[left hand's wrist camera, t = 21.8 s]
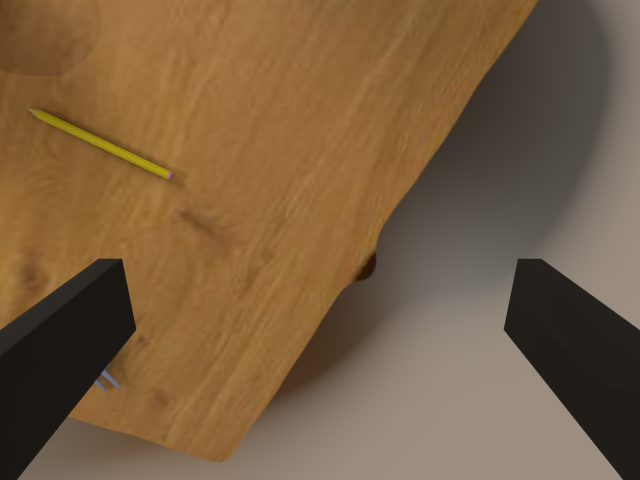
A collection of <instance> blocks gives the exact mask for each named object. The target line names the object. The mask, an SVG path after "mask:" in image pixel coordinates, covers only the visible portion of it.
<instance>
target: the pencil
mask: <svg viewBox="0 0 640 480" xmlns="http://www.w3.org/2000/svg"><path fill="white" fill-rule="evenodd" d="M27 109H28V110H29V111H30V112H31V113H33V114H34V115H35V116H36V117H37V118H38V119H40V120H43V121H45V122H47V123H49V124H51V125H53V126H55V127H57V128H59V129H62V130H64V131H66V132H68V133H70V134H72V135H74V136H76V137H78V138H81V139H83V140H85V141H87V142H89V143H91V144H93V145H95V146H98V147H100V148H102V149H104V150H106V151H108V152H110V153H112V154H114V155H117V156H119V157H121V158H123V159H125V160H127V161H129V162H131V163H133V164H136V165H138V166H140V167H142V168H144V169H146V170H148V171H150V172H153V173H155V174H157V175H159V176H161V177H163V178H165V179H167V180H171V178H172V176H173V173H172V172H170V171H168V170H166V169H164V168H162V167H160V166H158V165H156V164H154V163H151V162H149V161H147V160H145V159H143V158H141V157H139V156H137V155H135V154H133V153H130V152H128V151H126V150H124V149H122V148H120V147H118V146H116V145H114V144H112V143H109V142H107V141H105V140H103V139H101V138H99V137H97V136H95V135H93V134H91V133H88V132H86V131H84V130H82V129H80V128H78V127H76V126H74V125H72V124H70V123H67V122H65V121H63V120H61V119H59V118H57V117H55V116H53V115H51V114H49V113H46V112H44V111H42V110H37V109H31V108H27Z"/></svg>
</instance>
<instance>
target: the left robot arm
mask: <svg viewBox="0 0 640 480" xmlns="http://www.w3.org/2000/svg"><path fill="white" fill-rule="evenodd" d="M504 330H505V332H506V333H507V334H508V336H509V337H510V338H511V339H512V341H513V342H514V343H515V344H516V346H517V347H518V348H519V349H520V351H521V352H522V353H523V354H524V356H525V357H526V358H527V360H528V361H529V362H530V363H531V365H532V366H533V367H534V368H535V370H536V371H537V372H538V373H539V375H540V376H541V377H542V378H543V380H544V381H545V382H546V383H547V385H548V386H549V387H550V388H551V390H552V391H553V392H554V393H555V395H556V396H557V397H558V398H559V400H560V401H561V402H562V403H563V405H564V406H565V407H566V409H567V410H568V411H569V412H570V414H571V415H572V416H573V417H574V419H575V420H576V421H577V422H578V424H579V425H580V426H581V427H582V429H583V430H584V431H585V432H586V434H587V435H588V436H589V437H590V439H591V440H592V441H593V443H594V444H595V445H596V446H597V447H598V449H599V450H600V451H601V453H602V454H603V455H604V456H605V458H606V459H607V460H608V461H609V463H610V464H611V465H612V466H613V468H614V469H615V470H616V471H617V473H618V474H619V475H620V476H621V478H622V479H623V480H640V330H639V329H638V328H636V327H635V326H633V325H632V324H631V323H629V322H628V321H626V320H625V319H624V318H622V317H621V316H620V315H618V314H617V313H615V312H614V311H613V310H611V309H610V308H608V307H607V306H606V305H604V304H603V303H602V302H600V301H599V300H597V299H596V298H595V297H593V296H592V295H590V294H589V293H588V292H586V291H585V290H584V289H582V288H581V287H579V286H578V285H577V284H575V283H574V282H573V281H571V280H570V279H568V278H567V277H566V276H564V275H563V274H562V273H560V272H559V271H557V270H556V269H555V268H553V267H552V266H550V265H549V264H548V263H546V262H545V261H544V260H542V259H518V262H517V267H516V271H515V277H514V281H513V286H512V292H511V296H510V301H509V306H508V311H507V316H506V321H505V326H504ZM135 331H136V326H135V321H134V316H133V311H132V306H131V301H130V296H129V291H128V286H127V281H126V276H125V271H124V267H123V262H122V259H98V260H96V261H95V262H94V263H92V264H91V265H90V266H88V267H87V268H85V269H84V270H83V271H81V272H80V273H78V274H77V275H76V276H74V277H73V278H72V279H70V280H69V281H67V282H66V283H65V284H63V285H62V286H61V287H59V288H58V289H56V290H55V291H54V292H52V293H51V294H49V295H48V296H47V297H45V298H44V299H43V300H41V301H40V302H38V303H37V304H36V305H34V306H33V307H31V308H30V309H29V310H27V311H26V312H25V313H23V314H22V315H20V316H19V317H18V318H16V319H15V320H14V321H12V322H11V323H9V324H8V325H7V326H5V327H4V328H2V329H1V330H0V480H17V479H18V478H19V476H20V475H21V474H22V473H23V471H24V470H25V469H26V468H27V466H28V465H29V464H30V463H31V461H32V460H33V459H34V458H35V456H36V455H37V454H38V453H39V451H40V450H41V449H42V448H43V446H44V445H45V444H46V442H47V441H48V440H49V439H50V437H51V436H52V435H53V434H54V432H55V431H56V430H57V429H58V427H59V426H60V425H61V424H62V422H63V421H64V420H65V419H66V417H67V416H68V415H69V414H70V412H71V411H72V410H73V409H74V407H75V406H76V405H77V404H78V402H79V401H80V400H81V399H82V397H83V396H84V395H85V393H86V392H87V391H88V390H89V388H90V387H91V386H92V385H93V383H94V382H95V381H96V380H97V378H98V377H99V376H100V375H101V373H102V372H103V371H104V370H105V368H106V367H107V366H108V365H109V363H110V362H111V361H112V360H113V358H114V357H115V356H116V355H117V353H118V352H119V351H120V349H121V348H122V347H123V346H124V344H125V343H126V342H127V341H128V339H129V338H130V337H131V336H132V334H133V333H134V332H135Z"/></svg>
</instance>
